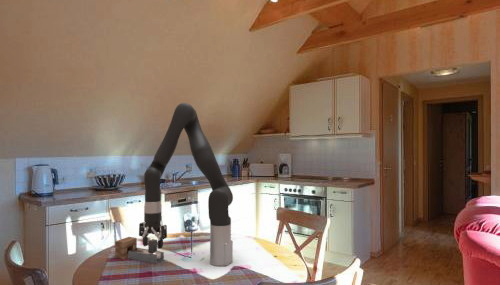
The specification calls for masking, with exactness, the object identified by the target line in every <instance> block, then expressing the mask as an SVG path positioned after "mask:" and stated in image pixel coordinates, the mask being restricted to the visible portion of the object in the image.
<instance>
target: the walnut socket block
mask: <svg viewBox="0 0 500 285" xmlns="http://www.w3.org/2000/svg"><path fill="white" fill-rule="evenodd" d="M137 239H138V238H137V237H134V236H126V237H124V238H121V239H118V240H116V241H115V242H114V244H115V245H114V250H115V251H114V252H115V253H114V257H115V258H116V259H120V260H124V259H126V258H127V259H128V251H129V250H131V251H135V248H138V247H137V246H138V245H137V242H138V240H137Z"/></svg>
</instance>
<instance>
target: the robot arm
mask: <svg viewBox="0 0 500 285" xmlns="http://www.w3.org/2000/svg"><path fill="white" fill-rule="evenodd" d="M183 130H184V131H185V133H186V135H187V139H188V143H189V147H190V152H191V155H192V157H193V159H194V162H195V164H196V166H197V168H198V170H199V171H200V172H201V173H202V174H203V175H204V177H205V178H206V179H207V180H208V183H209V184H210V188H211V190H212V191H211V192H210V193H209V196H208V203H207V204H208V206H207V208H208V218H209V222H210V223H209V225H210V226H209V228H210V230H209V234H210V235H209V255H210V256H209V257H210V258H209V263H210V265H212V266H216V267H222V266H224V267H227V266H228V265H229V264H231V263H232V262H233V258H234V257H233V256H234V255H233V253H234V252H233V251H234V248H233V246H234V244H233V243H234V241H233V240H232V230H231V229H232V218H231V217H230V215H229V206H231V204H232V203H233V199H234V195H233V191H232V190H231V188H230V186H229V184H228V183H227V181H226V179H225V178H224V175H223V173H222V170H221V168H220V166H219V164H218V160H217V158H216V156H215V154H214V151H213V149H212V146H211V144H210V143H209V142H210V141H208V139H207V136H206V135H205V133H204V132H203V129H202V127H201V124H200V120H199V117H198V113H197V110H196V109H195V108H194V107H193V106H192V105H191V104H190V103H188V102H181V103H179V104H178V105H176V106H175V108H174V112H173V114H172V117H171V121H170V123H169V126H168V129H167V131H166V132H165V135H164V136H163V139H162V140H161V143H160V145H159V147H158V148H157V151H156V152H155V155H154V156H153V160H152V162H151V164H150V165H149V166H148V168H147V169H146V170H145V172H144V176H143V178H144V179H143V182H144V190H145V191H144V207H143V208H144V209H143V210H144V212H143V216H144V218H143V219H144V220H143V222H140V223H139V225H138V227H139V228H138V236H139V237H141V238H142V245H143V247H147V246H148V241H149V237H148V236H149V234H152V235H154V236H155V237H156V238H157V250H158V249H162V248H163V246H164V240H165V239H167V238H168V228H167V225H166V224H162V223H161V221H162V212H163V211H162V191H161V178H162V176H163V175H164V172H165V169H166V167H167V165H168V163H170V160H171V158H172V157H173V155H174V153H175V151H176V148H177V145H178V141H179V139H180V136H181V134H182V132H183Z"/></svg>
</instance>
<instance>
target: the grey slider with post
mask: <svg viewBox="0 0 500 285" xmlns="http://www.w3.org/2000/svg"><path fill="white" fill-rule="evenodd" d="M147 246H148V248H147V249H148V251H147V250H141V249H137V250H136V251H137V252H142V253H148V254H154V255H157V259H161V257H162V254H161V253H159V252H156V251H158V239H154V238H152V239H148V245H147Z"/></svg>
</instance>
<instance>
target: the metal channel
mask: <svg viewBox="0 0 500 285" xmlns="http://www.w3.org/2000/svg"><path fill="white" fill-rule="evenodd" d="M137 249H141V250H147V251H148V248H144V247H143V248H142V247H137V248H135V251H131V250H129V251H128V257H127V259H128V260H133V261H139V262H143V263H144V262H145V263H150V264H155V265H156V264H158V263H160V262H162V261H164V260H165V258H164V257H165V256H164V254H165V252H164V251H160V250H157V251H156V252H159V253H161V254H162V257H161V259H157V255H154V254H148V253H142V252H137V251H136V250H137Z"/></svg>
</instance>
